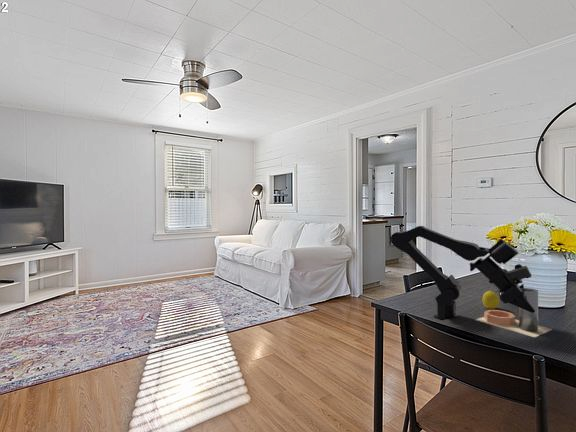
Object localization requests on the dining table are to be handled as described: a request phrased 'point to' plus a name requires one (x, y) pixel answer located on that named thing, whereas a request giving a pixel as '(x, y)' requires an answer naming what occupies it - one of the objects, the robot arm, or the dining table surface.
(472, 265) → the robot arm
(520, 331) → the birch board
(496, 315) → the ring
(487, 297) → the lemon
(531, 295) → the steel sleeve
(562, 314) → the dining table surface
